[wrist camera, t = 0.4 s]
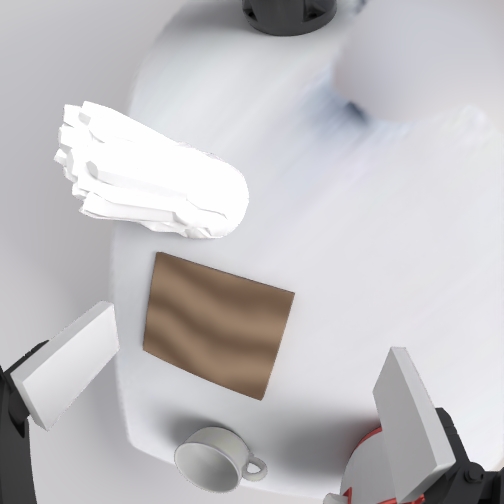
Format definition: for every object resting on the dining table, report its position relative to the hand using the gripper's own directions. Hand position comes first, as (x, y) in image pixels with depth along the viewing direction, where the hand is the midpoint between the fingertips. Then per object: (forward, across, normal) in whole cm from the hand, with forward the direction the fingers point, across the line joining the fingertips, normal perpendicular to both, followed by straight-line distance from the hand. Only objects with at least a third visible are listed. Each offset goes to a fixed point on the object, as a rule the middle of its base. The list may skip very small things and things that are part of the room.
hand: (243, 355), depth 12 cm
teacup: (+18, -2, -34) cm, 39 cm away
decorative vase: (+28, -9, +3) cm, 29 cm away
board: (+23, -8, -14) cm, 28 cm away
